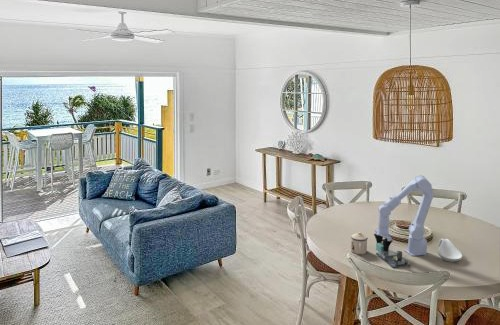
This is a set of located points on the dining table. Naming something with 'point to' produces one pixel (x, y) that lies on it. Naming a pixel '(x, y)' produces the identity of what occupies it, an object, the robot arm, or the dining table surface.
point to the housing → (379, 246)
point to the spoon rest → (448, 251)
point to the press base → (390, 258)
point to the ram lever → (399, 258)
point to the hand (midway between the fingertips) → (382, 248)
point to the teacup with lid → (359, 243)
